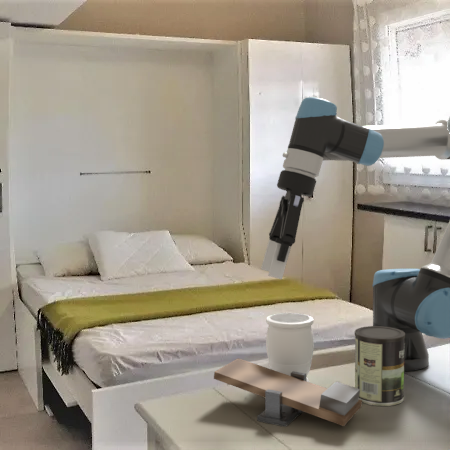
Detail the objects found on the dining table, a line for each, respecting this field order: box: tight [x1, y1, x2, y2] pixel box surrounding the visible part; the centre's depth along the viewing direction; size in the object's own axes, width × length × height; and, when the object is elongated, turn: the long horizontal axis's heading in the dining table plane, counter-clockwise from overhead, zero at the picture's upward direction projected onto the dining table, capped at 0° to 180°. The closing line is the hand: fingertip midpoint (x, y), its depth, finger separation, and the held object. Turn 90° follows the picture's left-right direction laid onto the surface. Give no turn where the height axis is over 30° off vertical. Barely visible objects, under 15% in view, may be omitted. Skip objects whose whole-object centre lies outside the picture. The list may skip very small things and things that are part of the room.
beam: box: [213, 358, 362, 427], centre depth 129 cm, size 28×10×4 cm, turn 60°
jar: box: [265, 312, 315, 382], centre depth 145 cm, size 11×10×15 cm
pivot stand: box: [256, 371, 306, 428], centre depth 129 cm, size 6×14×6 cm, turn 150°
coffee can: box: [354, 325, 405, 407], centre depth 136 cm, size 10×10×14 cm
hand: (270, 274), depth 132 cm, fingers open, 13 cm apart
